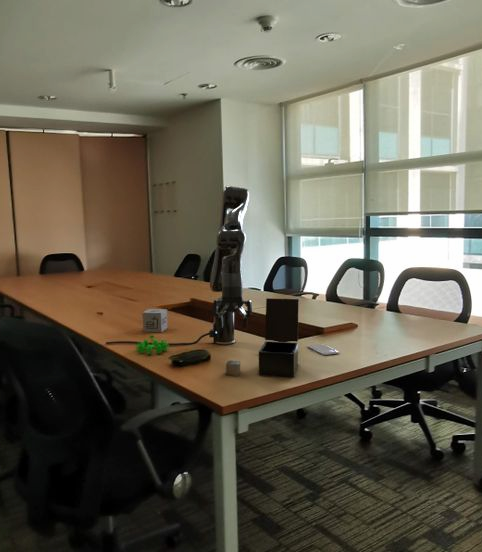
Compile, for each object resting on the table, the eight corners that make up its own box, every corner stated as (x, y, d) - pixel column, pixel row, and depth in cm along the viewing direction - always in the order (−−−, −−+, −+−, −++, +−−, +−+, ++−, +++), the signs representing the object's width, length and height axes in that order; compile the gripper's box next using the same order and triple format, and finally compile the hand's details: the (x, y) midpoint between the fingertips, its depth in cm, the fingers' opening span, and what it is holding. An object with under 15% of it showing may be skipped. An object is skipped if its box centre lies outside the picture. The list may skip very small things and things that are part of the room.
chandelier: (145, 358, 207) (145, 341, 206) (129, 350, 219) (128, 335, 218) (175, 351, 216) (175, 336, 215) (158, 344, 228) (158, 330, 227)
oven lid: (298, 299, 193) (299, 300, 198) (266, 298, 197) (268, 299, 202) (297, 341, 191) (298, 341, 197) (265, 340, 195) (267, 340, 200)
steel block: (226, 375, 182) (226, 363, 182) (228, 371, 186) (228, 360, 186) (237, 375, 181) (237, 364, 180) (240, 372, 185) (240, 360, 185)
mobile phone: (322, 342, 221) (339, 351, 206) (322, 344, 221) (339, 353, 207) (306, 344, 219) (323, 353, 204) (306, 346, 219) (323, 355, 204)
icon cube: (161, 332, 253) (160, 313, 252) (143, 331, 255) (142, 312, 254) (167, 327, 263) (166, 309, 261) (149, 327, 265) (149, 309, 264)
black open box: (293, 377, 178) (293, 353, 177) (258, 375, 181) (258, 351, 180) (297, 364, 193) (297, 342, 192) (265, 362, 196) (265, 341, 195)
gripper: (253, 283, 181) (253, 326, 183) (215, 282, 185) (216, 325, 187) (249, 286, 174) (249, 330, 176) (210, 285, 178) (211, 329, 180)
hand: (232, 327), depth 182 cm, fingers open, 8 cm apart
